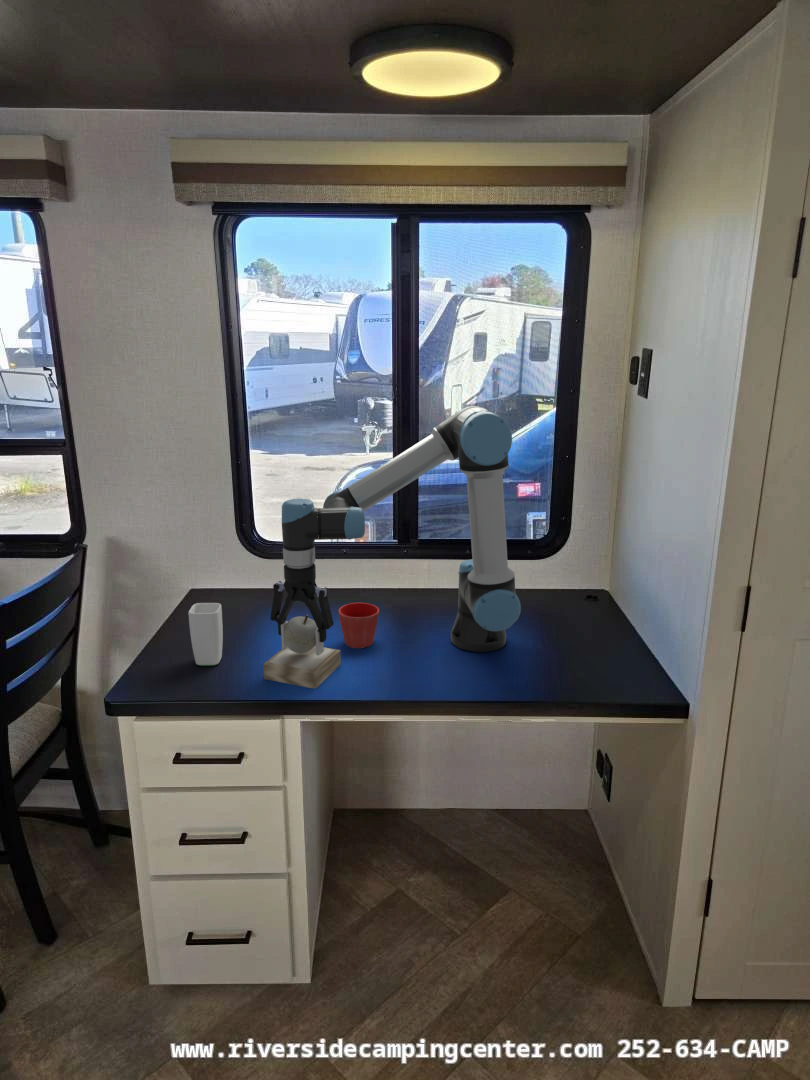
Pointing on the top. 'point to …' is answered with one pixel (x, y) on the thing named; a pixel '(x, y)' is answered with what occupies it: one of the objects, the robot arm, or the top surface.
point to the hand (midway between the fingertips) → (302, 650)
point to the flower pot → (358, 624)
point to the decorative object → (300, 634)
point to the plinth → (302, 667)
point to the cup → (206, 633)
